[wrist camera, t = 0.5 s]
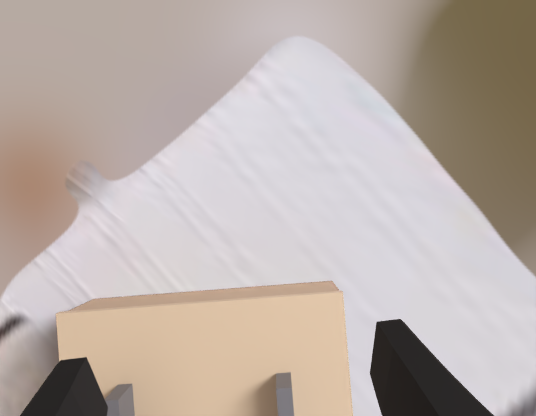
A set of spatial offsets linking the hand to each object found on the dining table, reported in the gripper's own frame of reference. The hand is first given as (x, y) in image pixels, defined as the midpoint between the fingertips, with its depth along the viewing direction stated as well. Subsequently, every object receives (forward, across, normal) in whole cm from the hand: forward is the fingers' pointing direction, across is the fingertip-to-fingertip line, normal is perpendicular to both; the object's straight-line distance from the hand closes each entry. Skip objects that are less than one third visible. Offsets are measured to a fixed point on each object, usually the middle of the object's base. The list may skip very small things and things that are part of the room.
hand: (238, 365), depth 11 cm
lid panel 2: (+10, -2, +19) cm, 21 cm away
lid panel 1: (+11, +8, +19) cm, 23 cm away
